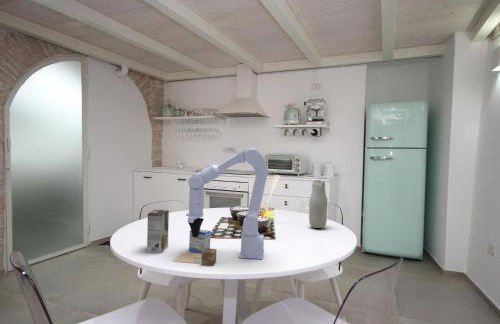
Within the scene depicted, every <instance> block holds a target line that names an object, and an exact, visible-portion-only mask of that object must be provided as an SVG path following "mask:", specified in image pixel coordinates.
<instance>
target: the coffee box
mask: <svg viewBox="0 0 500 324" xmlns="http://www.w3.org/2000/svg"><path fill="white" fill-rule="evenodd" d="M169 212H170V211H169V210H166V209H165V210H164V209H154V210H152V211H150V212H149V213H147V231H146V233H147V235H146V236H147V237H146V238H147V239H146V253H149V254H163V252H164V251H165V250H166V249H167V248H169V214H170V213H169Z"/></svg>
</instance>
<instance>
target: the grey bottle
mask: <svg viewBox="0 0 500 324" xmlns="http://www.w3.org/2000/svg"><path fill="white" fill-rule="evenodd" d="M311 187H312V188H311V194H310V197H309V202H308V207H309V208H308V211H309V213H308V222H309V226H311V228H313V227H314V228H313V229H315V228H322V229H324V228H325V227H326V226H327V221H328V197H327V193H326V182H325V181H324V180H321V179H316V180H314V181H312V185H311Z"/></svg>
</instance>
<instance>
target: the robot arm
mask: <svg viewBox="0 0 500 324" xmlns="http://www.w3.org/2000/svg"><path fill="white" fill-rule="evenodd" d="M245 162H246V163H248V164H249V165H250V166H251V167H252V168H253V169H254V171H255V172H256V173H255V178H254V182H253V187H252V192H251V197H250V199H249V200H250V201H249V204H248V205H249V206H248V210H247V214H246V217H244V219H243V222H242V228H241V229H242V231H241V235H240V236H241V237H240V238H241V239H240V241H241V242H240V252H239V255H238V258H241V259H253V260H263V258H264V257H263V256H264V254H265V249H264V245H265V244H264V243H265V235H264V234H260V232H259V221H258V220H259V216H260V215H259V213H260V210H261V206H262V201H263V196H264V192H265V186H266V182H267V177H268V175H269V174H268V172H269V169H268V166H267V164H266V161H265V158H264V156H263V154H262V153H261V151H259V150H258V149H257V148H256V147H255V148H254V147H250V148H247V149H246V150H243V151H239V152H237V153H235V154H233V155H231V156H230V157H228V158H227V159H226V160H223V161H222V162H220V163H219V164H207V165H206V167H205V168H204V169H202V170H198V171H196V173H197V174H192V175H191V176H190V177H189V178H188V180H187V183H188V186H189V193H188V195H189V196H188V197H189V198H188V213H186V214H185V216H186V217H187V224H188V226H189V228H190V230H191V232H192V236H193V237H198V235H199V231H200V230H201V226H202V224H203V222H204V218H203V217H204V185H207V184H209V183H211V182H212V181H214V180H216V179H217V178H219V177H220V176H221V173H222V172H224V171H225V170H227V169H228V168H231V167H233V166H234V165H236V164H238V163H239V164H241V163H243V164H245Z"/></svg>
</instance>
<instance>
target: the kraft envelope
mask: <svg viewBox="0 0 500 324" xmlns="http://www.w3.org/2000/svg"><path fill="white" fill-rule="evenodd" d="M172 262H174V263H176V262H177V263H188V264H200V263H201V262H202V253H196V252H194V253H193V252H192V253H191V252H182V253H180V254H179V255H178V256H177V257H176V258H175V259H174V260H173V261H172Z"/></svg>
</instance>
